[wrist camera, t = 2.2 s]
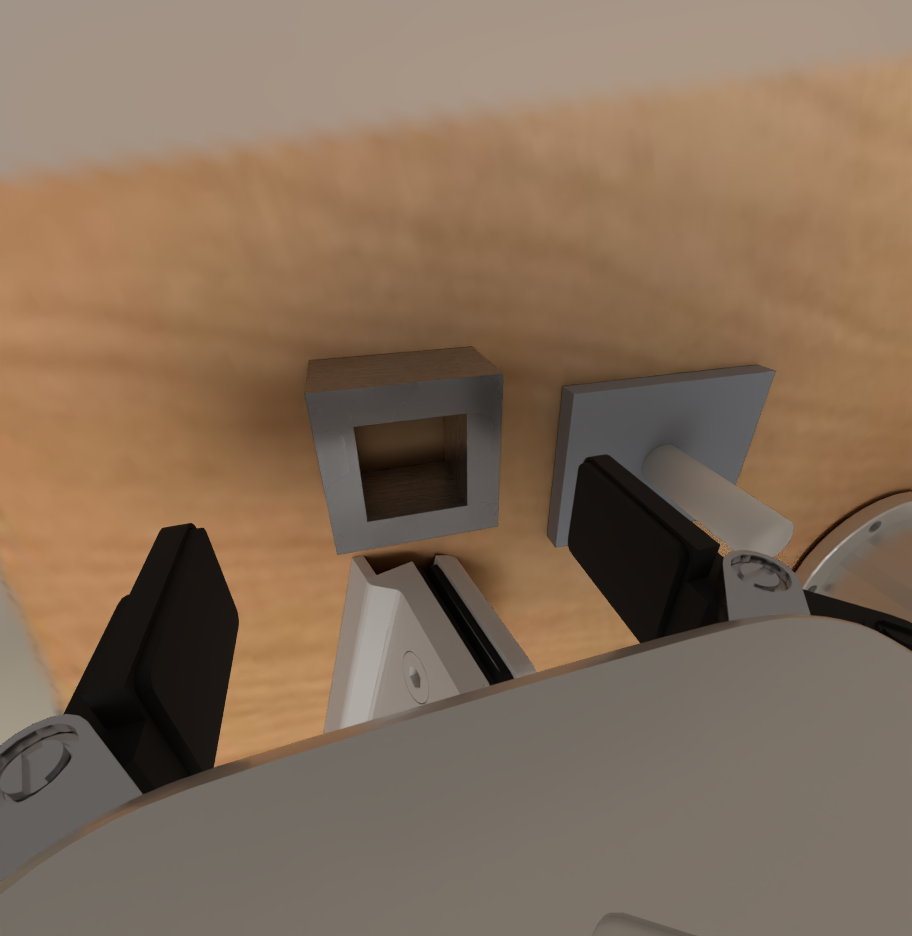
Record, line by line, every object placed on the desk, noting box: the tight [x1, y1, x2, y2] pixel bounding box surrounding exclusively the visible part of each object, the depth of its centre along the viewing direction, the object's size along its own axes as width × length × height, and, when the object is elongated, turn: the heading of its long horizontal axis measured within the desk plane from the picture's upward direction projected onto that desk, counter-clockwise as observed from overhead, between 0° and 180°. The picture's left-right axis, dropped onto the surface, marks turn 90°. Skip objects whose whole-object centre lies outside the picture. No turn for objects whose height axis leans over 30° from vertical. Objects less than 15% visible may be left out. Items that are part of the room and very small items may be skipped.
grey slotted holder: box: [324, 555, 536, 734], centre depth 21 cm, size 17×5×10 cm, turn 166°
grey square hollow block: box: [305, 347, 503, 555], centre depth 16 cm, size 6×6×4 cm
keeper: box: [547, 365, 794, 557], centre depth 19 cm, size 10×8×7 cm
